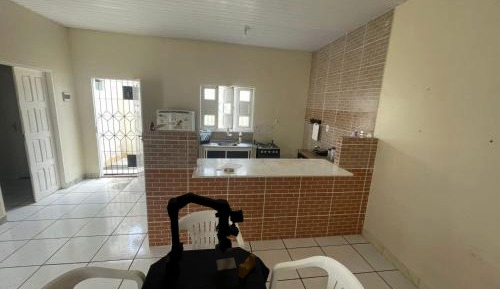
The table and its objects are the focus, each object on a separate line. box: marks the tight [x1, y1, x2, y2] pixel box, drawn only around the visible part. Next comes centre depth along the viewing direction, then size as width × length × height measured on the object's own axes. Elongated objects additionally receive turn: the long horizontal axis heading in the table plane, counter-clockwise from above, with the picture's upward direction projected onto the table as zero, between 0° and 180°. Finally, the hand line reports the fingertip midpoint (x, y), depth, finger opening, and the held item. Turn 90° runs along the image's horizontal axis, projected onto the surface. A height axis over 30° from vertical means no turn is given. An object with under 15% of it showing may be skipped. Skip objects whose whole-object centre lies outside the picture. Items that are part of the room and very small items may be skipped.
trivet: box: [215, 257, 237, 272], centre depth 119 cm, size 10×8×1 cm
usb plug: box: [214, 243, 233, 256], centre depth 117 cm, size 9×4×4 cm, turn 105°
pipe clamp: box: [238, 252, 256, 279], centre depth 115 cm, size 12×4×6 cm, turn 147°
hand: (222, 250), depth 117 cm, fingers closed on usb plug, 4 cm apart
